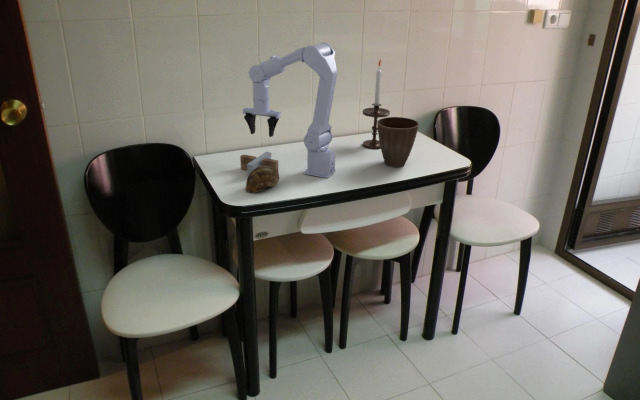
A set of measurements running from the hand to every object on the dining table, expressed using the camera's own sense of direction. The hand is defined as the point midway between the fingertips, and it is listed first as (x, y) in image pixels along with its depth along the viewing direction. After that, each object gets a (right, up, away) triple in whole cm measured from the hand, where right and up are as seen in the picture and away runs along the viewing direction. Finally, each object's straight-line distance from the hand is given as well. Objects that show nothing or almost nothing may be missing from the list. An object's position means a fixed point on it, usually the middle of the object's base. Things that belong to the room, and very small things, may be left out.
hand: (262, 134), depth 190 cm
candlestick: (+44, -2, +21) cm, 48 cm away
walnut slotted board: (0, -14, -8) cm, 16 cm away
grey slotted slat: (0, -14, -8) cm, 16 cm away
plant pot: (+49, -11, +2) cm, 51 cm away
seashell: (+2, -21, -21) cm, 29 cm away
